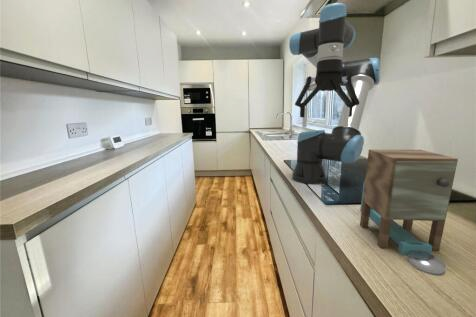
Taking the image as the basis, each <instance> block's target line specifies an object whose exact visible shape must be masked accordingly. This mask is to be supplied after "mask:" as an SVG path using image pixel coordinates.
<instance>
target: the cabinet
mask: <svg viewBox="0 0 476 317" xmlns="http://www.w3.org/2000/svg"><path fill="white" fill-rule="evenodd" d="M458 159H459V158H456V157H452V156H448V155H444V154H439V153H436V152H430V151H428V150H427V151H426V150H423V149H368V154H367V162H366V170H365V171H366V172H365V179H364V182H365V186H364V195H363V203H362V212H361V211H360V212H361V213H360V222H359V225H360V227H361V228H362V229H363V228H365V229H368V228H369V221H370V217H369V216H370V208H372V209H373V210H374V211H376V212H377V213H378V214H379V215H380V216H381V222H380V227H379V230H378V236H377V246H378V247H379V248H380V249H388V246H389V239H390V236H389V234H390V227H391V220H394V221H396V220H398V221H402V228H404V229H405V230H412V229H413V224H414V221H427V222H431V226H430V227H431V228H430V232H429V235H428V243H429V244H430V245H431V246H432V251H437V252H438V251H440V248H441V243H442V238H443V234H444V229H445V224H446V218H447V213H448V210H449V205H450V199H451V194H452V189H453V185H454V180H455V176H456V171H457V165H458V161H459V160H458Z"/></svg>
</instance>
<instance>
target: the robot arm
mask: <svg viewBox="0 0 476 317" xmlns="http://www.w3.org/2000/svg"><path fill="white" fill-rule="evenodd" d="M347 15H348V14H347V5H346V4H345V3H342V2H334V3H330V4H326V5H325V6H323V7H322V8H321V10H320V13H319V20H318V22H319V24H318V28H313V29H310V30H306V31H300V32H298V33H295V34H293V35H291V36H290V38H289V44H288V46H289V51H290V54H292V56H300V55H302V56H303V57H304V58H305V59H306V60H307V61H308V62H310V64H312V65H313V66H314V67H315V68H316V72H315V73H316V74H315V77H312V76H311V75H310V76H307V77H306V78H305V84H304V85H303V87H302V89H301V91H300V93H299V95H298V97H297V98H296V101H295V103H294V105H295V106H296V107H298V108H299V117H300V118H302V128H305V129H306V128H307V121H308V107H306V106H307V105H308V104H309V103H310V101H311V100H312V99H313V98H314V97H315V96H316V95H317V94H318V92H320V91H321V92H324V91H329V92H331V91H334V92H335V93H336V94H337V96H339V98H340V99H341V101H342V102H343V107H342V110H341V113H340V116H339V120H338V123H337V125H336V126H334V127H333V128H332V130H331V133H326V130H325V129H318V130H317V129H316V130H309V131H301V132H299V133H298V136H297V141H296V142H297V143H296V144H297V145H296V146H297V150H296V164H295V166H294V169H293V171H292V176H291V177H292V180H293V181H296V182H298V183H302V184H308V185H309V184H313V185H316V184H315V183H317V184H322V183H321V182H323V183H325V182H326V177H327V175H326V173H325V168H324V165H323V164H324V163H323V162H324V160H325V161H332V162H338V163H339V162H340V163H350V164H351V163H352V164H353V163H356V161H358V160H359V158H360V156H362V155H361V154H362V151H363V148H364V143H365V142H364V141H365V138H364V136H363V135H362V132H361V131H360V130H359V129H360V125H361V122H362V118H363V114H364V110H365V106H366V102H367V98H368V96H369V91H371V90H372V89H373V88H374V86H375V85H377V84H379V83H380V81H381V63H380V59H379V58H378V57H368V58H362V59H355V60H347V61H346V60H345V61H342V59H343V56H344V55H343V54H344V50H346V49H348V48H350V47H351V45H353V43H354V41H355V39H356V32H355V31H356V30H355V29H354V27H353V25H351V24H350V23H349V22H348V20H347V19H346V18H347ZM313 83H315V85H316V86H315V88H313V90H312V91H311V92H310V93H309V95H308V96H307V97H306V98H305V99H304V97H305V95H306V94H307V92H308V90H309V89H310V86H311V85H312V84H313ZM342 87H345V88H346V92H347V94H346V92H344V90H343V88H342ZM324 181H325V182H324Z"/></svg>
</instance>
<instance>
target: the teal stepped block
mask: <svg viewBox="0 0 476 317" xmlns="http://www.w3.org/2000/svg"><path fill="white" fill-rule="evenodd" d="M362 185H363V186H362V194H361V202H360V209H359V210H360V212H362V203H363V195H364V186H365V181H363V184H362ZM369 219H371V220H372V222H374V223H375V224H376V225H377V226H378V227H379V228H380V222H381V216H380V215H379V214H378V213H377V212H376V211H374V210H373V209H372V208H370V216H369ZM389 238H391V239H392V240H393V241H394V242H395V244H396V245H398V249H397V250H398V252H399V254H401V255H402V256H409V253H410V252H411V251H422V252H426V253H429V254H432V252H433V250H432V246H431V245H430V244H429V243H428V242H426V241H424V242H423V241H420V240H418V239H417V238H416V237H415V236H413V234H411V233H410V232H409V231H407V229H405V228H404V227H403V226H402V225H400V224H399V223H398V222H396V220H391V227H390V234H389Z"/></svg>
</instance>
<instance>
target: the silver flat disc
mask: <svg viewBox="0 0 476 317" xmlns="http://www.w3.org/2000/svg"><path fill="white" fill-rule="evenodd" d="M407 256H408V258H407V261H408V263H409V264H410V265H411V266H412V267H414V268H415V269H417V270H418V271H420V272H423V273H425V274H429V275H433V276H441V275H443V274H445V270H446V265H447V264H446V263H445V261H443V260H442V259H440V258H439V257H438V256H436V255H434V254H432V253H431V254H429V253H426V252H422V251H411V252H410V253H409V255H407Z"/></svg>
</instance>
